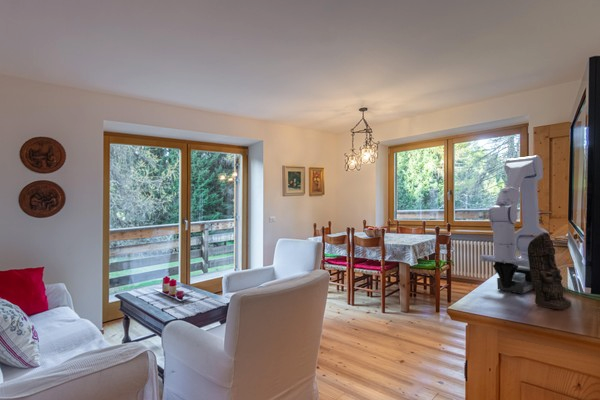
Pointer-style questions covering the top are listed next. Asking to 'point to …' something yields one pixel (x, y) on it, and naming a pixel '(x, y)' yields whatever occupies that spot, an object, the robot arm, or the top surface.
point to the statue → (546, 273)
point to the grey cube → (519, 277)
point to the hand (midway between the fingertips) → (506, 287)
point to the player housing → (525, 272)
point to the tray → (516, 286)
